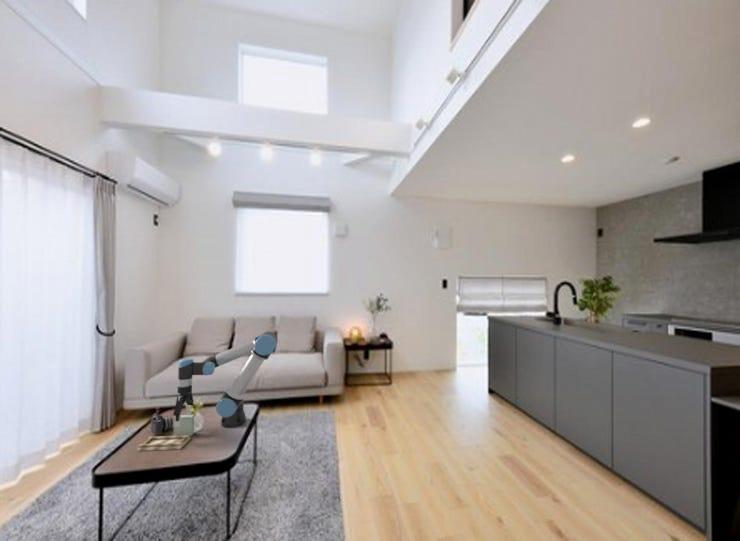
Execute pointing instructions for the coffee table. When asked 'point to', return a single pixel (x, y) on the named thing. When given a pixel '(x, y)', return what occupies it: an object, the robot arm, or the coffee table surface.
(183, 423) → the pale green block
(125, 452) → the coffee table surface
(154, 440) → the track board
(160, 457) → the coffee table surface
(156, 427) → the camera
